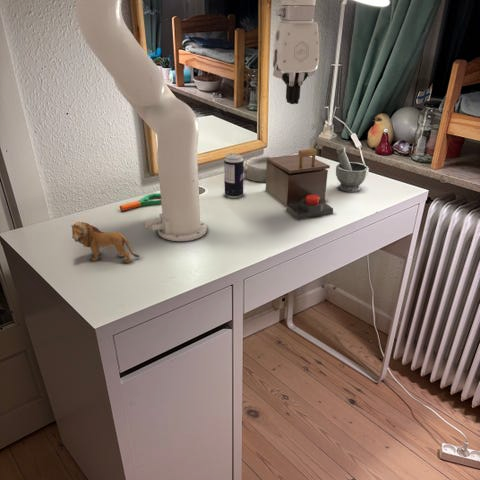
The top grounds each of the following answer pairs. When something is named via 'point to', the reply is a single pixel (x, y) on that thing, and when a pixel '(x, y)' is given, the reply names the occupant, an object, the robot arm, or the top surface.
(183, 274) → the top surface
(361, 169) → the mortar and pestle
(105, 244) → the lion figurine
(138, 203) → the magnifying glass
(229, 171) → the beverage can
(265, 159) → the dish
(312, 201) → the button
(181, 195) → the robot arm
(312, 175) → the brown open box
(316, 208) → the control block
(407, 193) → the top surface
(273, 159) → the wooden box lid
